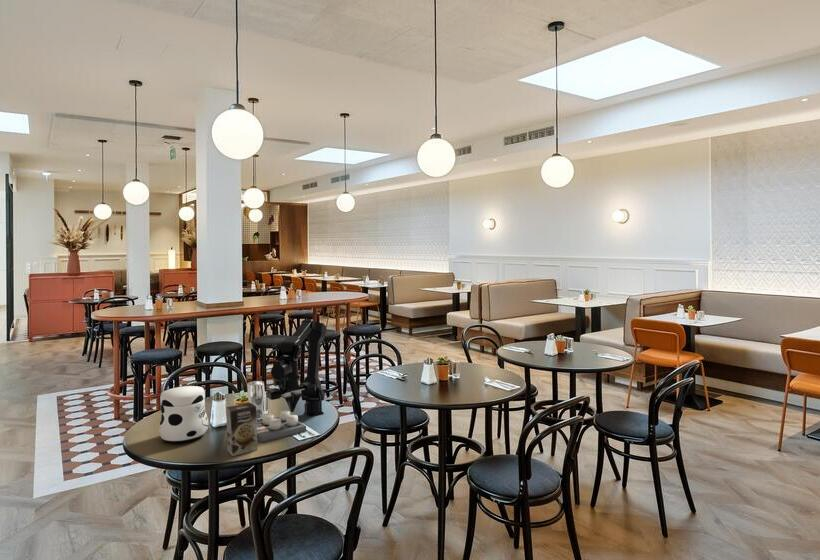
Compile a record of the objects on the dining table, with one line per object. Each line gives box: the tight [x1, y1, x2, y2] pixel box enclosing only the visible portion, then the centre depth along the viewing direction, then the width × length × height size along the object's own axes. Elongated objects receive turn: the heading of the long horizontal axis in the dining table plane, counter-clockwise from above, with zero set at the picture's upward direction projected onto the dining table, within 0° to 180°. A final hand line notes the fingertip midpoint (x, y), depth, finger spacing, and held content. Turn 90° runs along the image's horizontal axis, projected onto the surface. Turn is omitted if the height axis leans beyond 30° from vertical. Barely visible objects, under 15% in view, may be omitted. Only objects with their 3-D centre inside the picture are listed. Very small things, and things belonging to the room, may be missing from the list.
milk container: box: [158, 385, 209, 443], centre depth 197 cm, size 17×17×18 cm
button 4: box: [286, 414, 299, 426], centre depth 203 cm, size 4×4×3 cm
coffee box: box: [225, 402, 258, 457], centre depth 183 cm, size 9×6×16 cm
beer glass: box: [247, 380, 266, 421], centre depth 218 cm, size 7×7×15 cm
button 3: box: [278, 410, 292, 421], centre depth 209 cm, size 4×4×3 cm
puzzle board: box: [257, 416, 307, 444], centre depth 203 cm, size 18×17×3 cm
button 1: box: [262, 413, 275, 425], centre depth 204 cm, size 4×4×3 cm
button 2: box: [269, 419, 281, 430], centre depth 199 cm, size 4×4×3 cm
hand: (292, 411), depth 203 cm, fingers closed
